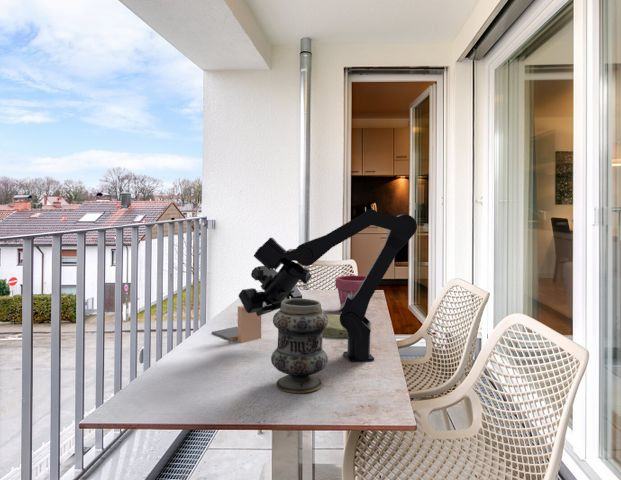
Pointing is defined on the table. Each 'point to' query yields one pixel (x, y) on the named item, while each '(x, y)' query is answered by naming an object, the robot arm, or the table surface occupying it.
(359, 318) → the robot arm
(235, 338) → the stop strip
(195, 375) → the table surface
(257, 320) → the tile
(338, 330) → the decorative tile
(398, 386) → the table surface
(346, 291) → the plant pot
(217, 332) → the mat
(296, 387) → the apothecary jar
